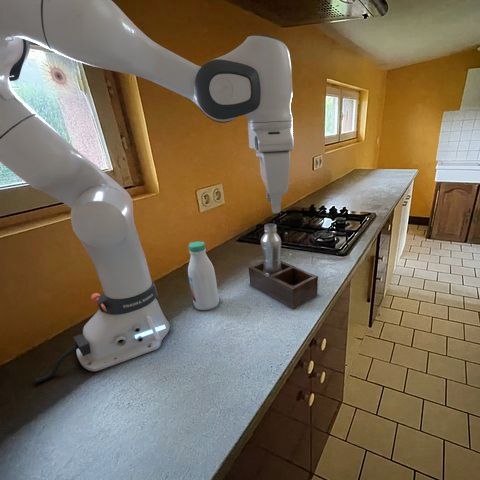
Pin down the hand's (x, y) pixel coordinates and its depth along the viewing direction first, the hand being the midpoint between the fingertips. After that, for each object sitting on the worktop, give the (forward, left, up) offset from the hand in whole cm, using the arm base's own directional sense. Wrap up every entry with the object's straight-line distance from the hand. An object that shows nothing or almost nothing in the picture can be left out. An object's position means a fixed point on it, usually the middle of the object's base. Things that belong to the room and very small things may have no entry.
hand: (273, 206), depth 67 cm
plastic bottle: (+14, +18, -32) cm, 39 cm away
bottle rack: (+14, +13, -33) cm, 38 cm away
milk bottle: (-8, +24, -33) cm, 42 cm away
